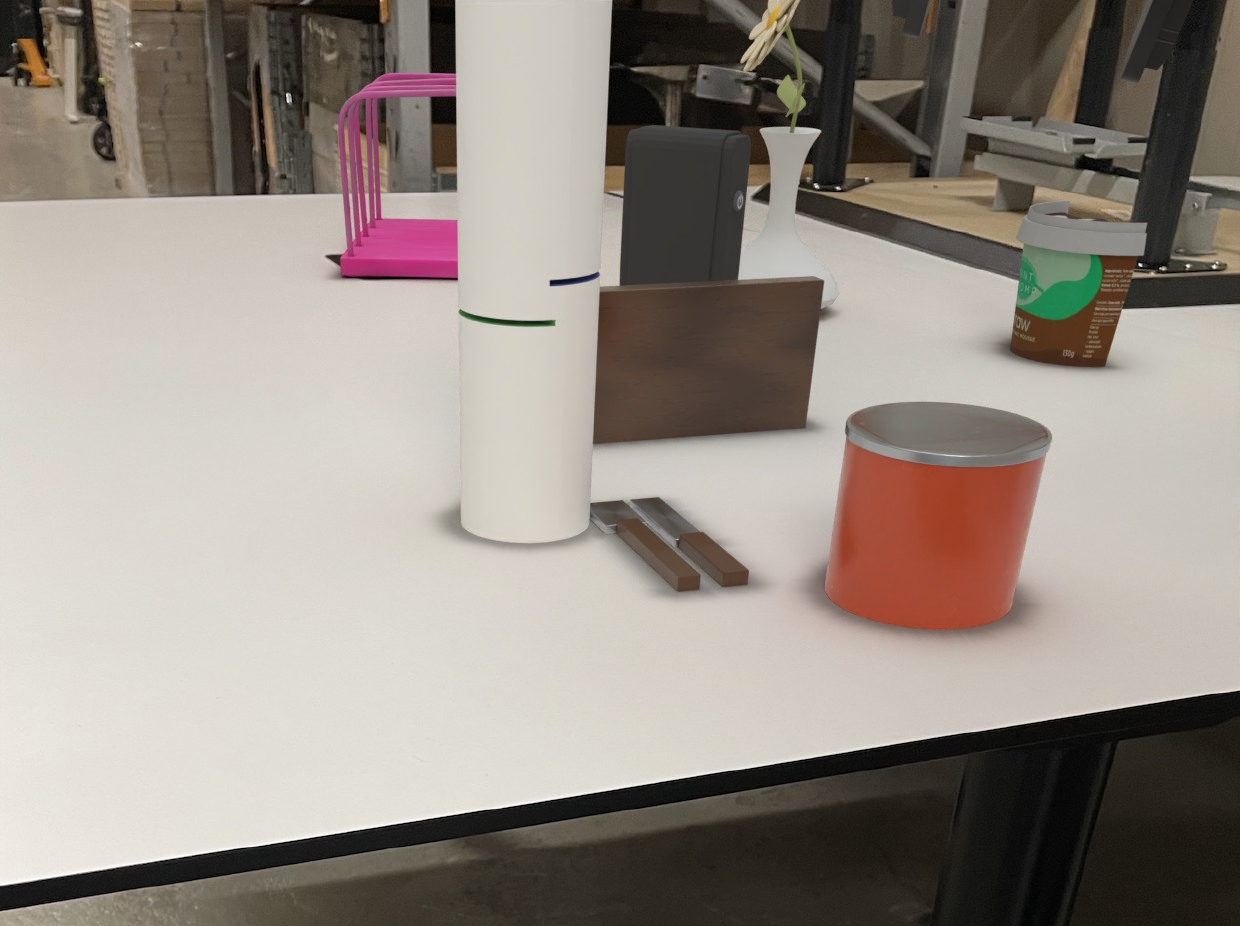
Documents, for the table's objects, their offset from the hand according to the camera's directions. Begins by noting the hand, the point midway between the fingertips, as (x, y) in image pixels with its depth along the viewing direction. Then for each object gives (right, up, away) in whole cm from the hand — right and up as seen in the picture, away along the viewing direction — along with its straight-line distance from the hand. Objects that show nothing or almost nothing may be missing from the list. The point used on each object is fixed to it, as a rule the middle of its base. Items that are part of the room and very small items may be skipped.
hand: (1021, 47), depth 55 cm
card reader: (-7, +14, +58) cm, 60 cm away
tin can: (0, -18, +14) cm, 23 cm away
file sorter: (-27, +38, +90) cm, 101 cm away
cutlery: (-12, -13, +20) cm, 27 cm away
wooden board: (-8, -1, +37) cm, 38 cm away
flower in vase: (+3, +22, +69) cm, 72 cm away
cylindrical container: (-19, -11, +23) cm, 32 cm away
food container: (+22, +13, +56) cm, 62 cm away
